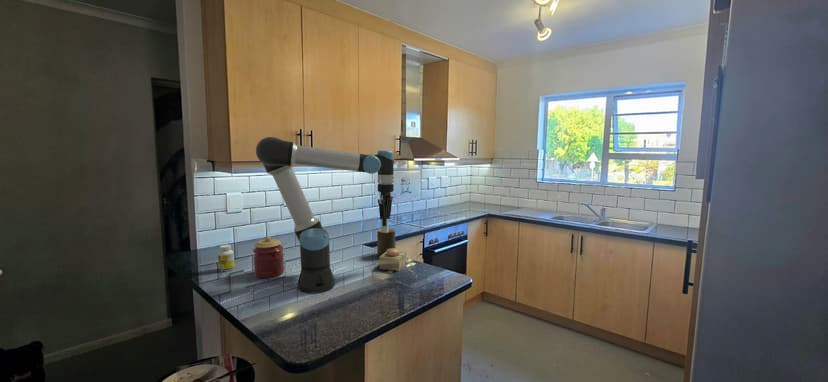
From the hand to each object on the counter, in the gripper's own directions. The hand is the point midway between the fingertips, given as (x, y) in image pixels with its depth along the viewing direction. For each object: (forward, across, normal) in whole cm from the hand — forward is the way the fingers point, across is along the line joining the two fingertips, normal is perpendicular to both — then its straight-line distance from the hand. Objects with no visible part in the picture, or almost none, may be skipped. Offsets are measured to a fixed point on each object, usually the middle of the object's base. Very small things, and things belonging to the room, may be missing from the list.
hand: (385, 232), depth 167 cm
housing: (+17, +2, -4) cm, 18 cm away
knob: (+16, +2, -4) cm, 17 cm away
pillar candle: (+17, +17, +7) cm, 25 cm away
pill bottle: (+19, -27, +70) cm, 78 cm away
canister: (+19, -25, +47) cm, 56 cm away
